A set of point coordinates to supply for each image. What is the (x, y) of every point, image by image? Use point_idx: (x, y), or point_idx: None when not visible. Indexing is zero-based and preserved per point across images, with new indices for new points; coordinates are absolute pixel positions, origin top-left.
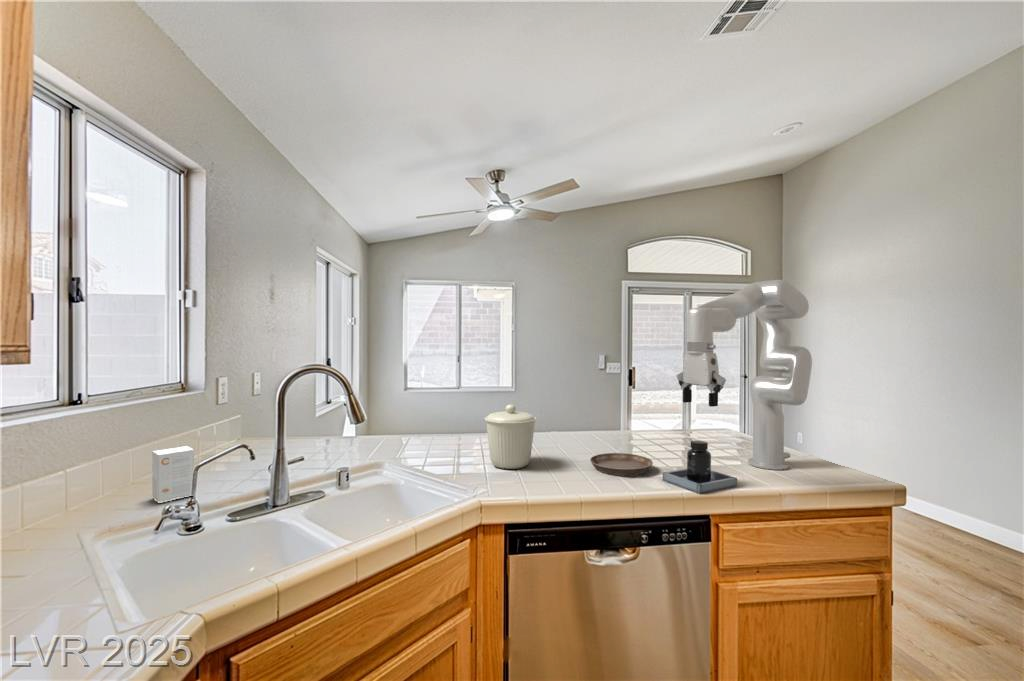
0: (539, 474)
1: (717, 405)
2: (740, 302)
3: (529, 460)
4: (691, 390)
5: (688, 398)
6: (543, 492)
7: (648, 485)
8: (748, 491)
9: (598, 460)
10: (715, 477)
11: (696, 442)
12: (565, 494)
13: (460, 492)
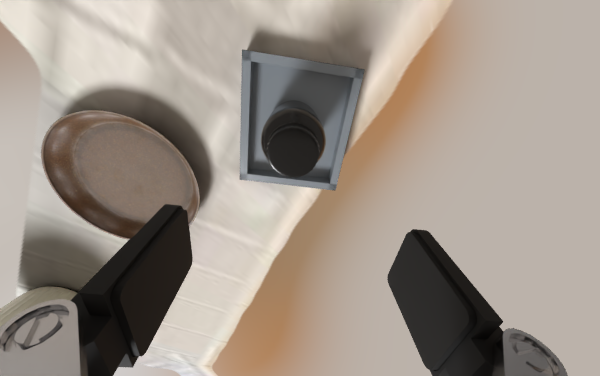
0: None
1: (424, 231)
2: None
3: (68, 295)
4: (123, 289)
5: (177, 254)
6: (210, 323)
7: (252, 213)
8: (390, 84)
9: (75, 190)
10: (304, 70)
11: (294, 169)
12: (229, 312)
13: (175, 368)
